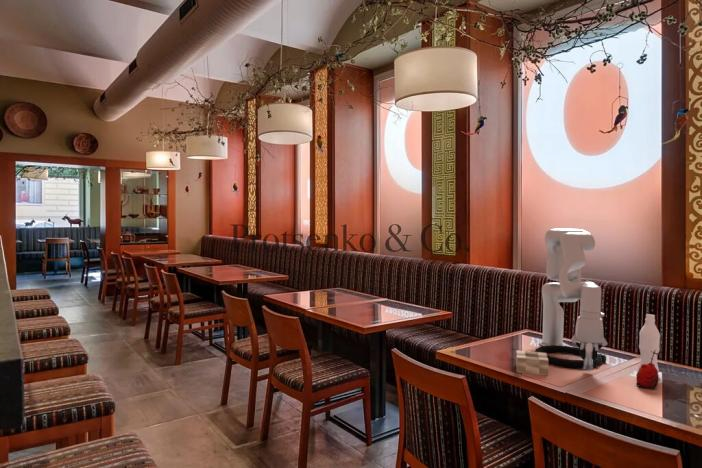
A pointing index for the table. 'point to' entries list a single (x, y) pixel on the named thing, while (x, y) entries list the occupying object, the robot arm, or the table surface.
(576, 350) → the cable lock
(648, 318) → the water bottle
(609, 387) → the table surface
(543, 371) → the cream rectangular block
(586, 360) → the peg
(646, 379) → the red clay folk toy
